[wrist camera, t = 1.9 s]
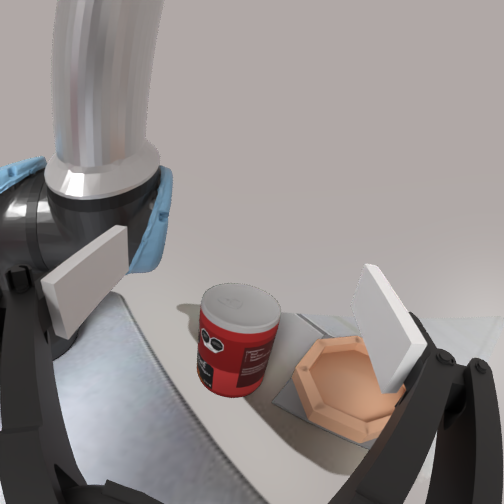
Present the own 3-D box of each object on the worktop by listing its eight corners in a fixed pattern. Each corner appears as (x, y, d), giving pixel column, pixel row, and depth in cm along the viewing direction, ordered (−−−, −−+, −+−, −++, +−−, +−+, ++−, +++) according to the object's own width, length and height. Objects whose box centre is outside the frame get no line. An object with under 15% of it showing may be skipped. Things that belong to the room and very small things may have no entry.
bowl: (272, 400, 29) (275, 390, 28) (325, 333, 41) (329, 323, 41) (394, 457, 21) (403, 448, 21) (416, 372, 34) (422, 363, 33)
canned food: (201, 349, 35) (207, 277, 31) (261, 357, 36) (279, 288, 31) (191, 394, 28) (194, 320, 24) (262, 403, 29) (284, 333, 24)
